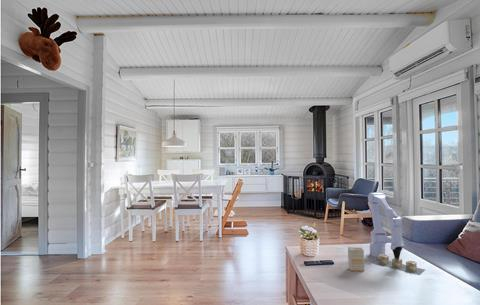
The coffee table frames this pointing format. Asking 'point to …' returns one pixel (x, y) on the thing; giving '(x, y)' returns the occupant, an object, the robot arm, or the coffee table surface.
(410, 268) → the three pip block
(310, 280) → the coffee table surface
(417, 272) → the slate mat
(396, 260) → the plain block
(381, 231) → the robot arm
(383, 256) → the two pip block
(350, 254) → the supplement box
